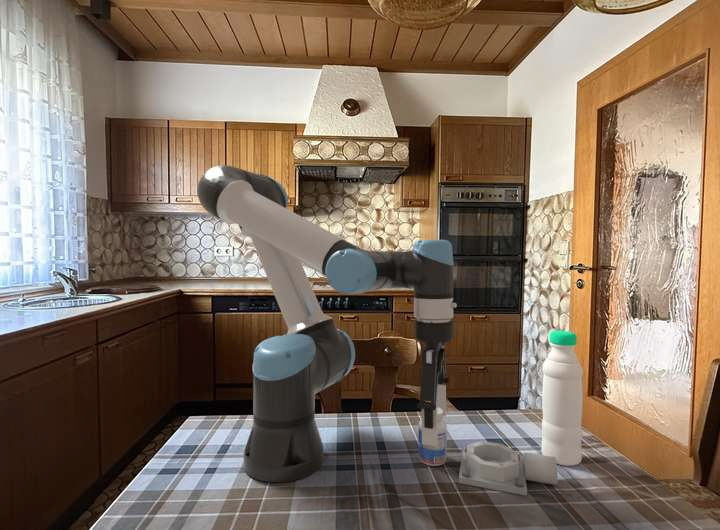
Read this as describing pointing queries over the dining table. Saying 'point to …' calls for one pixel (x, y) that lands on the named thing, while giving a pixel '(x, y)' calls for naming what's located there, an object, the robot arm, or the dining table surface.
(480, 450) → the fitting
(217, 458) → the dining table surface
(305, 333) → the robot arm
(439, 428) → the pill bottle
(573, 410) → the water bottle
